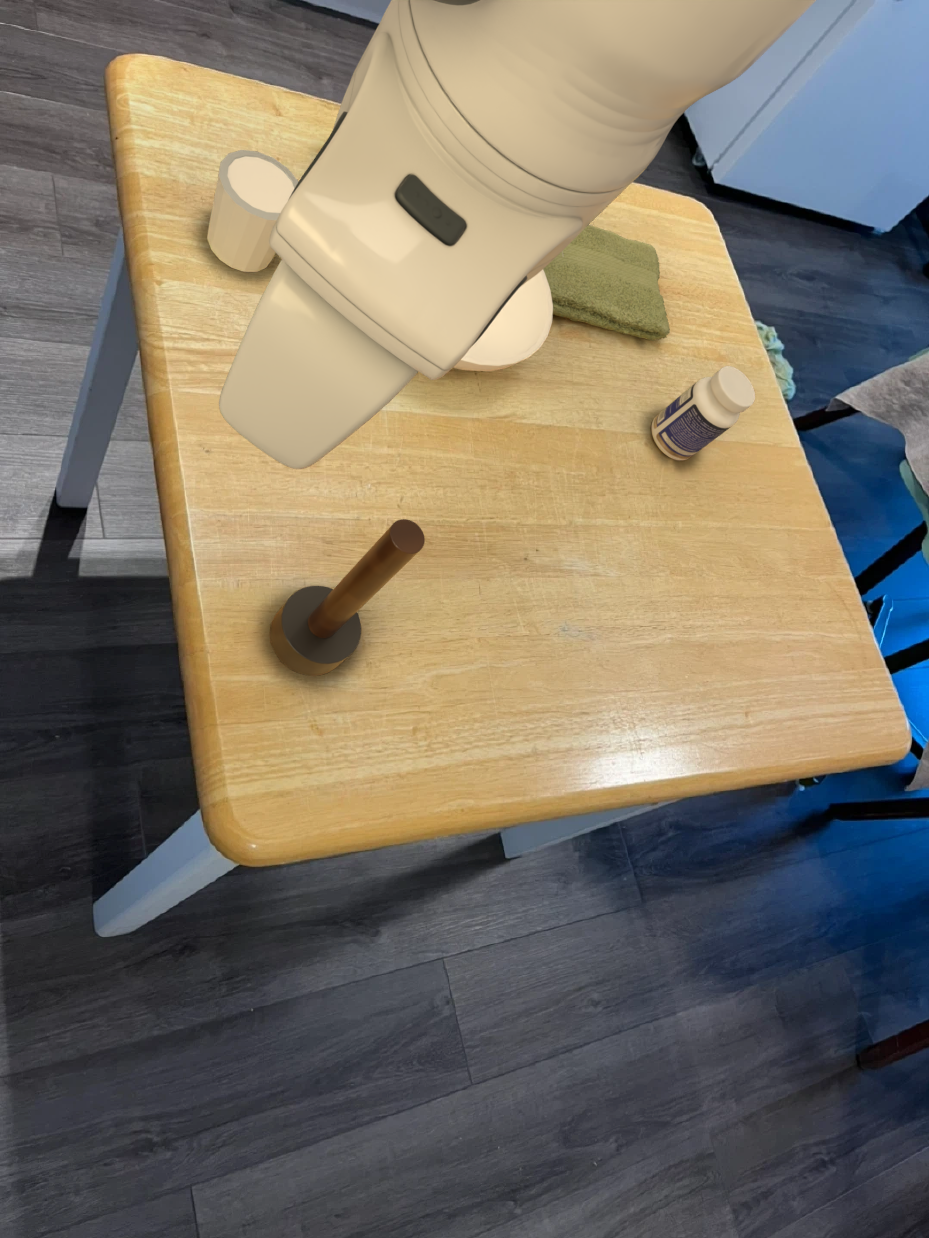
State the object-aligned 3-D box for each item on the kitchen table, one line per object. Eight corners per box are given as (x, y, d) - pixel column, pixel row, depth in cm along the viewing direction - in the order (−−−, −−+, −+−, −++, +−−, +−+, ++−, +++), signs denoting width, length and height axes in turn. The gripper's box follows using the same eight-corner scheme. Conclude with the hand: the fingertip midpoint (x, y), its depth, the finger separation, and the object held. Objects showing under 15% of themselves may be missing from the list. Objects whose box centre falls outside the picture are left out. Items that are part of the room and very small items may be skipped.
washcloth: (514, 212, 94) (530, 190, 92) (645, 261, 102) (663, 242, 100) (525, 310, 90) (542, 290, 87) (661, 354, 98) (680, 336, 95)
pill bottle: (698, 462, 94) (767, 412, 86) (658, 462, 91) (726, 410, 83) (681, 416, 96) (748, 362, 87) (642, 414, 93) (707, 358, 84)
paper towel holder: (253, 623, 64) (339, 514, 49) (317, 587, 67) (414, 475, 53) (300, 690, 64) (400, 601, 49) (361, 651, 67) (472, 556, 53)
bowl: (290, 319, 75) (316, 265, 70) (378, 197, 85) (407, 141, 80) (477, 447, 80) (515, 406, 75) (539, 317, 90) (577, 272, 85)
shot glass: (294, 255, 78) (320, 197, 72) (246, 291, 74) (270, 233, 68) (234, 199, 77) (255, 136, 71) (182, 233, 73) (200, 169, 67)
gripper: (536, -92, 32) (379, 158, 44) (248, 247, 23) (147, 450, 35) (657, 39, 34) (476, 245, 46) (436, 401, 25) (280, 544, 37)
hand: (332, 336), depth 40 cm, fingers open, 8 cm apart
